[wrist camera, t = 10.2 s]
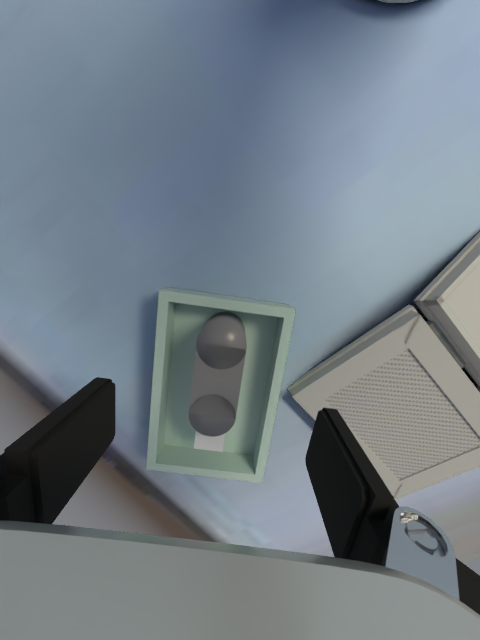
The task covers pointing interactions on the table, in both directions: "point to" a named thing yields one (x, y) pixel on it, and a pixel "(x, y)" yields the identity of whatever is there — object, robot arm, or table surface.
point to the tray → (176, 381)
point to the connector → (217, 379)
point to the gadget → (412, 383)
